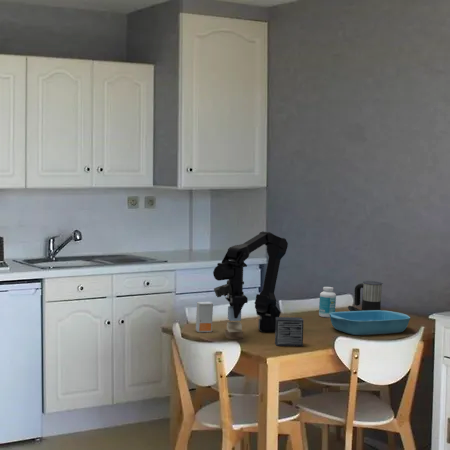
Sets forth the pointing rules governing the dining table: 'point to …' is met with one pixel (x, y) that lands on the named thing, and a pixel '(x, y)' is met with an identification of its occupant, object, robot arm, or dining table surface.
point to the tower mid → (234, 327)
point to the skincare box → (204, 317)
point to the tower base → (234, 335)
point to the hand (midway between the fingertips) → (234, 317)
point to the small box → (289, 331)
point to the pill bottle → (327, 302)
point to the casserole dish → (369, 322)
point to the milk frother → (368, 296)
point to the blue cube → (231, 314)
